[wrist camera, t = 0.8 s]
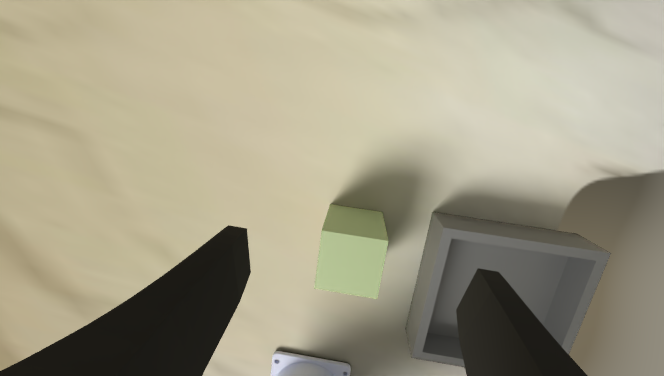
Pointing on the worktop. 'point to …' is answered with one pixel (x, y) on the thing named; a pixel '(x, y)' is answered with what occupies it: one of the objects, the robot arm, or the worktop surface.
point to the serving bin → (514, 265)
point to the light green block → (352, 251)
